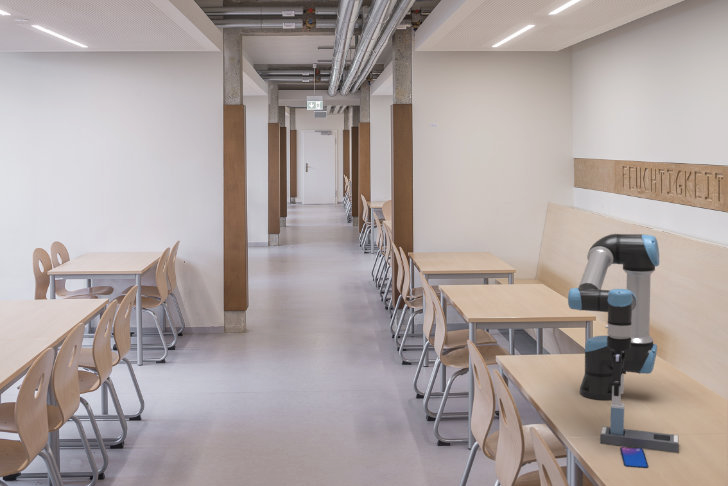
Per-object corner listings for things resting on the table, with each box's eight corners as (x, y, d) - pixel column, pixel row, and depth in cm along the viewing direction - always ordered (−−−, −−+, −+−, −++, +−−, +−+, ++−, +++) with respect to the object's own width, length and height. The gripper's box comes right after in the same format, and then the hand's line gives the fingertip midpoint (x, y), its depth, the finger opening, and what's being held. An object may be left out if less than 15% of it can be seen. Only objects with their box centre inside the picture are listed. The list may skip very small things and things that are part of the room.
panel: (602, 434, 259) (602, 425, 258) (678, 443, 250) (678, 434, 249) (600, 443, 251) (600, 433, 251) (678, 452, 242) (678, 443, 242)
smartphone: (624, 465, 233) (619, 446, 247) (624, 468, 233) (619, 449, 247) (649, 467, 231) (643, 448, 245) (649, 470, 231) (643, 450, 245)
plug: (611, 438, 256) (611, 402, 254) (623, 439, 254) (624, 403, 253) (610, 442, 252) (610, 405, 251) (622, 443, 251) (623, 407, 249)
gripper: (610, 327, 262) (608, 387, 264) (603, 343, 239) (602, 409, 241) (633, 329, 259) (631, 389, 261) (629, 345, 236) (627, 411, 238)
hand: (617, 399), depth 251 cm, fingers open, 13 cm apart
